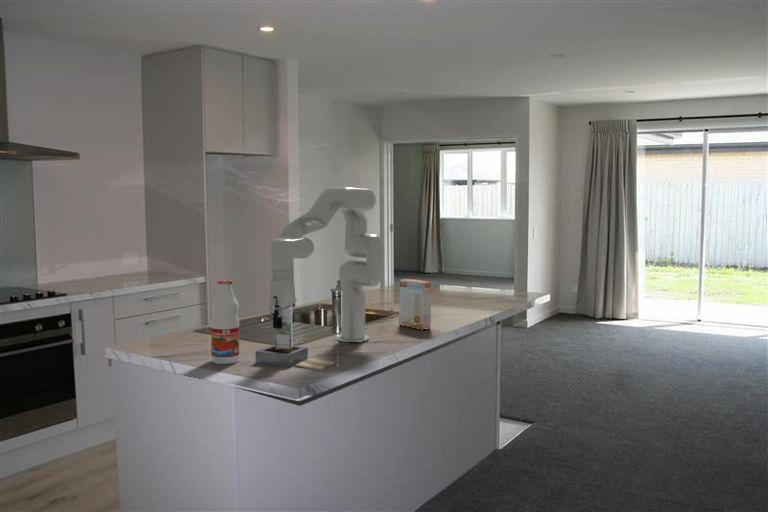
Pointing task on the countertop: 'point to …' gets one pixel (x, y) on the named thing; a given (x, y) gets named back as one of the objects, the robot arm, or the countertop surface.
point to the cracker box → (415, 303)
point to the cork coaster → (315, 364)
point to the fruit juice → (225, 325)
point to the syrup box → (285, 330)
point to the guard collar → (281, 356)
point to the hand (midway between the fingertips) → (283, 325)
